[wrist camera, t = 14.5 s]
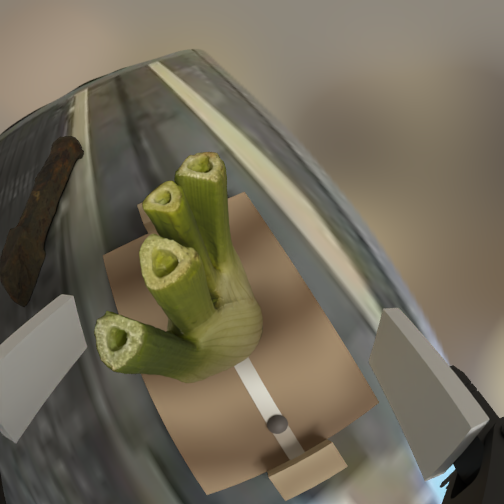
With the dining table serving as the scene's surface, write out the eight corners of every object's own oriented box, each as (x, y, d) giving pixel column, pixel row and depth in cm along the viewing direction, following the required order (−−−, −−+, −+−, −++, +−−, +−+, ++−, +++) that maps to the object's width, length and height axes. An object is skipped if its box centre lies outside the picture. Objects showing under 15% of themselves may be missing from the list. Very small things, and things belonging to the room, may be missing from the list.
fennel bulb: (214, 393, 14) (117, 406, 4) (159, 335, 16) (27, 239, 5) (282, 326, 16) (332, 203, 6) (225, 274, 18) (190, 114, 7)
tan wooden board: (108, 247, 21) (91, 227, 18) (234, 191, 24) (232, 165, 21) (225, 505, 12) (221, 524, 9) (379, 422, 15) (401, 426, 12)
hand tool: (63, 160, 27) (48, 134, 23) (87, 155, 27) (73, 126, 23) (12, 306, 18) (-19, 287, 14) (36, 309, 19) (3, 290, 14)
